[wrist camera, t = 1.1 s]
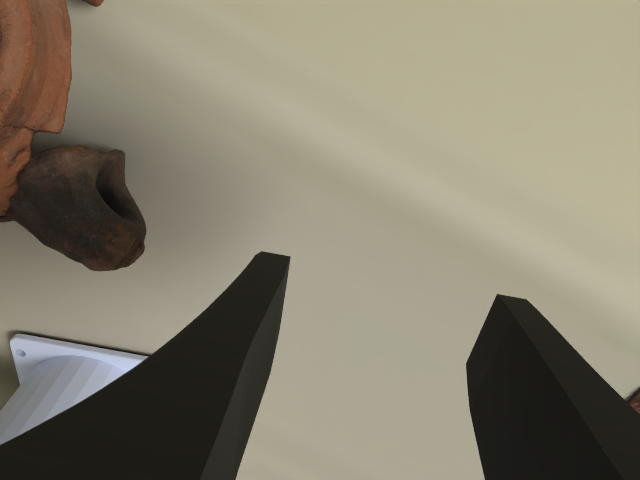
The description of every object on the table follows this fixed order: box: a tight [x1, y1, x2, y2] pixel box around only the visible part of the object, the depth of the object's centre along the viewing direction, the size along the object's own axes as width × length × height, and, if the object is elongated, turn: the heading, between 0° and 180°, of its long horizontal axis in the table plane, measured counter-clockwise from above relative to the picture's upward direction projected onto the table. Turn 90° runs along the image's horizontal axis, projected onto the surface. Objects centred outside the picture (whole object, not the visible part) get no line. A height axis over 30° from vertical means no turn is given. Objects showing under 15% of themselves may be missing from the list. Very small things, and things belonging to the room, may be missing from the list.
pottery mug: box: [0, 0, 146, 271], centre depth 16 cm, size 12×10×8 cm
